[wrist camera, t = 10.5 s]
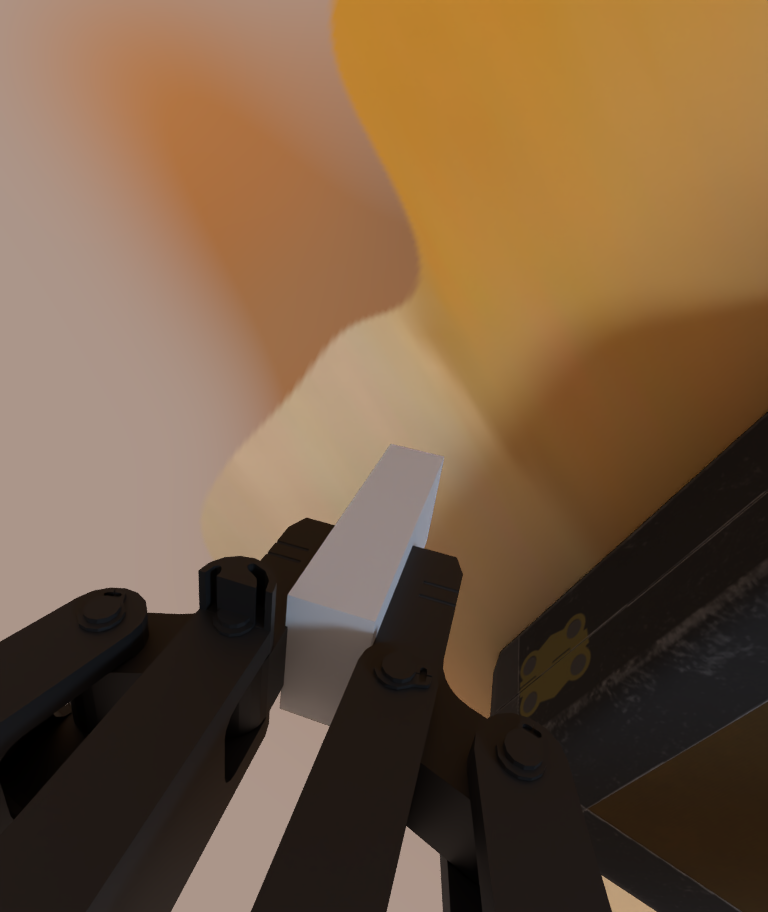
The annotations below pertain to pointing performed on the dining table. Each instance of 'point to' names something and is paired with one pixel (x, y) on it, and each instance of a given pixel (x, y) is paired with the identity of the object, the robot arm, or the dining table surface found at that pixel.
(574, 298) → the dining table surface
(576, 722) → the cash box
